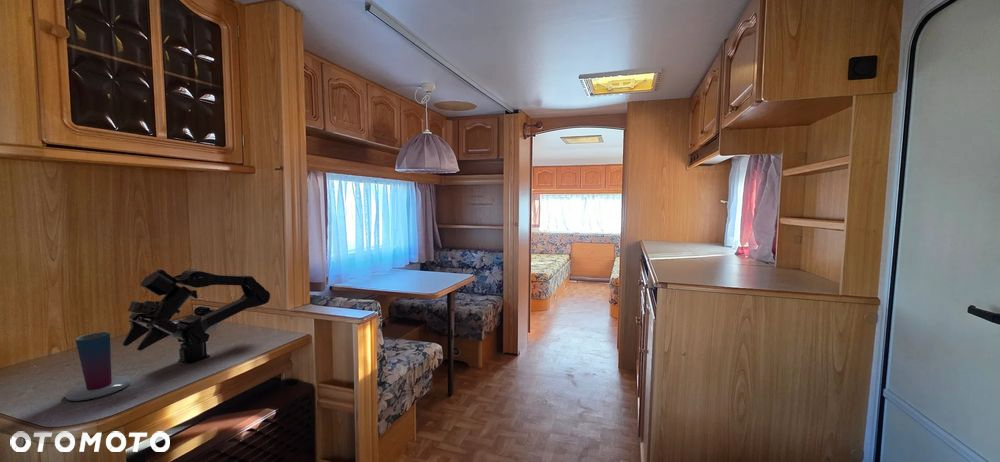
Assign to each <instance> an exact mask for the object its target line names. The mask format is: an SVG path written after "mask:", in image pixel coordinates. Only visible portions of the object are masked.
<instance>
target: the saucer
mask: <svg viewBox="0 0 1000 462" xmlns="http://www.w3.org/2000/svg"><path fill="white" fill-rule="evenodd" d="M131 383H132V381H131V377H130V376H127V375H126V376H125V375H117V376H116V375H115V376H112V383H111V384H110V385H108V386H106V387H103V388H100V389H95V390H87V387H86V383H85V382H84V383H83V384H79V385H77V386H75V387H73V388H71V389H70V390H68V391H67V392H66V393H65V399H66V400H68V401H71V402H72V401H73V402H74V401H77V402H78V401H86V400H87V401H88V400H92V399H96V398H97V399H98V398H101V397H105V396H108V395H111V394H114V393H116V392H119V391H121V390H123V389H125V388H126V387H128V386H129V385H130V384H131Z"/></svg>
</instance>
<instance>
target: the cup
mask: <svg viewBox="0 0 1000 462" xmlns="http://www.w3.org/2000/svg"><path fill="white" fill-rule="evenodd" d="M75 344H76V348H77V352H78V357H79V361H80V366H81V369H82V374H83V379H84V384H85V383H86V387H87V390H95V389H100V388H103V387H106V386H108V385H110V384H111V383H112V377H113V376H112V357H111V356H112V354H111V353H112V352H111V351H112V349H111V332H110V331H107V330H105V331H96V332H91V333H86V334H83V335H80V336H77V337H76V338H75Z"/></svg>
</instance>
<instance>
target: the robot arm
mask: <svg viewBox="0 0 1000 462" xmlns="http://www.w3.org/2000/svg"><path fill="white" fill-rule="evenodd" d="M180 285H181V286H180ZM210 286H239V287H240V288H241V290H242V293H243V294H242V295H241V296H240V298H238V299H236V300H235V301H232V302H229V303H227V304H225V305H224V306H221V307H219V308H217V309H215V310H213V311H211V312H208V313H206V314H204V315H202V316H198V315H192V314H190V315H188V316H186V317H184V318H183V319H178V320H177V322H173V321H172V320H171V319H172V318H173V317H174V316H175V314H178V315H179V314H180V313H181V310H180V309H181V307H182V306H183V305H184V304H185V303H186V301H188V300H189V298H192V299H196V300H197V299H198V298H199V296H198V293H197V292H198V290H195V288H196V289H197V288H205V287H210ZM140 287H142V288H144V289H146V290H147V291H149V292H150V293H153V294H155V295H156V296H158V297H161V296H163V295H164V296H163V297H162V298H161V299H160V300H156V301H152V300H148V299H147V300H145V301H144V302H139V301H134V300H132V301H131V303H130V304H129V306H128V309H127V312H131V314H130V315H129V317H128V322H129V324H130V329H129V331H128V333H127V335H126V337H125V339H124V341H123V342H122V345H123V346H124V347H127V346H128V347H129V346H130V344H133V342H135V341H136V340H138V339H140V338H141V337H143V336H144V337H143V339H142V340H141V342H140V343H139V345H138V346H137V347H136V350H137V351H140V352H142V351H143V350H145V349H147V348H149V347H150V346H152V345H154V344H155V343H157V342H159V341H161V340H163V339H165V338H167V337H170V336H172V337H173V338H174V339H176V340H177V342H178V343H180V348H179V349H178V350H179V351H178V352H179V359H178V362H181V363H186V364H193V363H196V362H198V361H201V360H204V359H207V358H209V357H211V355H210V354H208V353H207V352H208V351H207V342H208V341H209V338H210V334H208V333H207V330H208V329H209V328H210V327H212V326H213V327H214V325H216V324H219V323H221V322H222V321H224V320H226V319H228V318H229V319H230V318H231V317H233V316H235V315H237V314H239V313H240V312H243V311H245V310H247V309H250V308H256V307H261V306H263V305H266V304H268V302H269V301H270V299H271V294H270V291H268V290H267V289H266V288H265V287H264V286H263V285H261V283H259V282H258V281H257V280H256V279H255V277H253V276H252V275H245V274H244V275H233V274H232V275H231V274H215V273H210V272H208V271H207V272H206V271H203V270H195V269H187V270H184V271H182V272H181V273H180V274H178V275H173V276H171V274H168V273H167V272H166V271H165V270H164V269H161V268H158V269H156V271H154V272H152V273H150V274H149V275H146V276H145V277H144V278H143V279H142V281H141V282H140ZM188 287H190V288H194V289H192V290H191V289H189V288H188ZM145 334H146V335H145Z"/></svg>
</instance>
